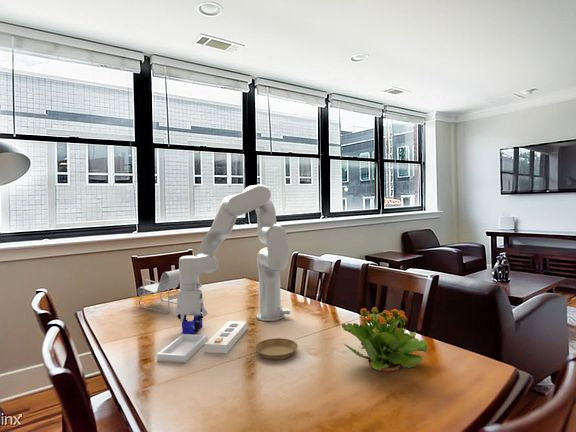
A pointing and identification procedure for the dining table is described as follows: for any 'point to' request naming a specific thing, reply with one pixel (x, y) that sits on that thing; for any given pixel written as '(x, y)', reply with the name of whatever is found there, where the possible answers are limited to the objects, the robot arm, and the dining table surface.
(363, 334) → the potted flower
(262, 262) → the robot arm
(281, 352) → the plant saucer
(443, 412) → the dining table surface
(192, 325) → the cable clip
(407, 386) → the dining table surface
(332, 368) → the dining table surface
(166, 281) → the chair
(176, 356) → the cable tray
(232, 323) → the power strip
